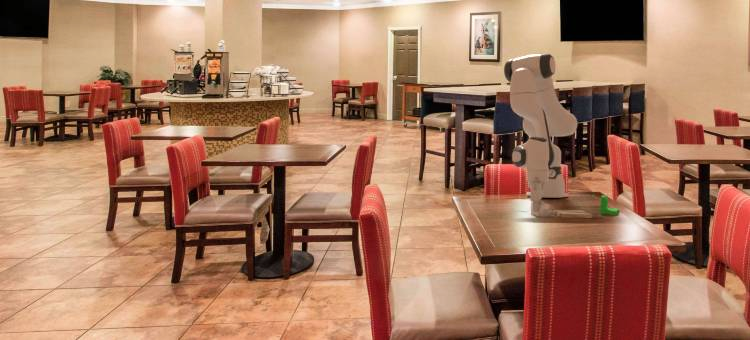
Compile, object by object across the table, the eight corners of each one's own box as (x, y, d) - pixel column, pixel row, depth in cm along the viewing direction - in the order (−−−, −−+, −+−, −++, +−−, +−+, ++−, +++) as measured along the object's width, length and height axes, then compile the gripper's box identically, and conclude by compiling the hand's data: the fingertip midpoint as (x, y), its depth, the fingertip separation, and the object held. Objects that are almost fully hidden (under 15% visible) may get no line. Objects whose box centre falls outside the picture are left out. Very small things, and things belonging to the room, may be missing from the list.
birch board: (552, 213, 257) (552, 209, 257) (581, 213, 257) (581, 210, 256) (562, 217, 243) (562, 214, 243) (592, 218, 243) (592, 214, 242)
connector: (529, 213, 254) (529, 201, 254) (537, 213, 255) (538, 201, 255) (544, 217, 242) (545, 205, 242) (553, 217, 243) (554, 205, 243)
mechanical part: (615, 216, 251) (616, 196, 251) (600, 215, 254) (600, 195, 254) (619, 213, 262) (620, 194, 261) (604, 212, 264) (605, 193, 264)
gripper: (543, 178, 239) (542, 214, 240) (546, 175, 258) (546, 208, 259) (527, 178, 241) (526, 213, 242) (531, 175, 260) (530, 207, 261)
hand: (536, 210), depth 251 cm, fingers closed on connector, 7 cm apart
